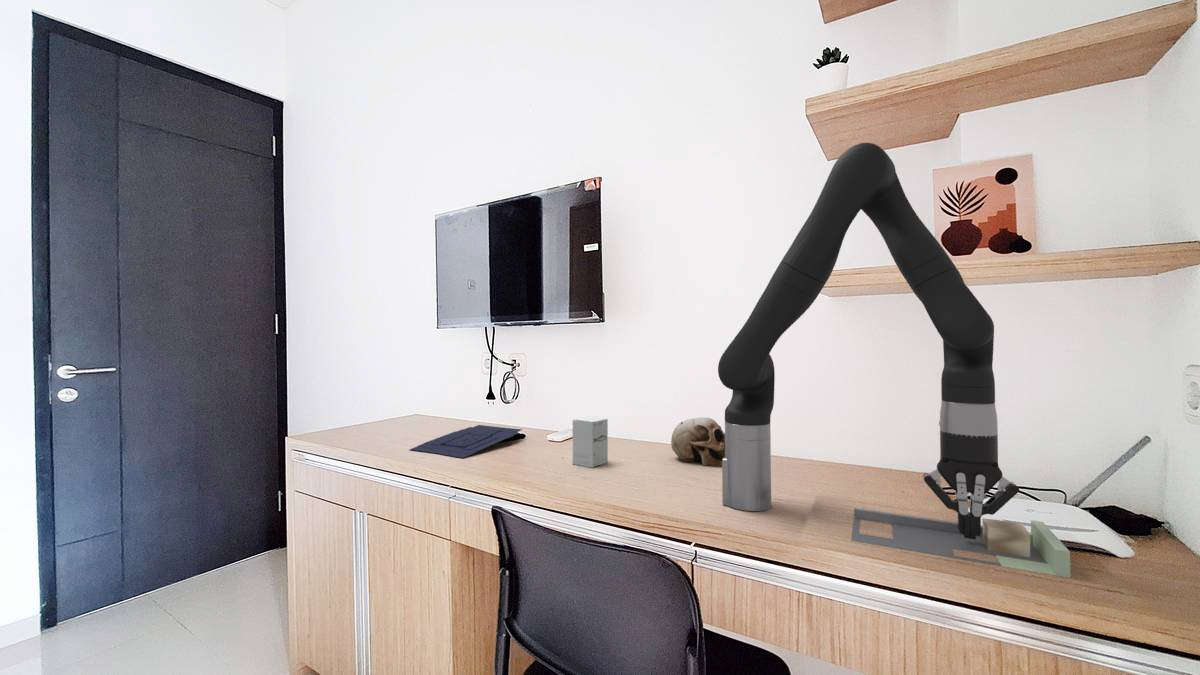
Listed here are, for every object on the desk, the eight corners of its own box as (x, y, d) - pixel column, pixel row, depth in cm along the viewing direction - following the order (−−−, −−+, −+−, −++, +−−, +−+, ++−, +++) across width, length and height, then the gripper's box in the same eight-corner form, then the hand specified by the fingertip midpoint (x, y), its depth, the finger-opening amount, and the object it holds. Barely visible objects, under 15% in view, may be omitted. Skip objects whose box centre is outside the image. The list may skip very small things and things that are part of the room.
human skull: (747, 464, 138) (741, 416, 138) (690, 475, 134) (683, 426, 134) (720, 454, 153) (715, 410, 153) (668, 464, 149) (662, 419, 149)
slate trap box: (851, 549, 82) (851, 519, 82) (854, 524, 93) (854, 497, 93) (1070, 588, 69) (1070, 551, 69) (1043, 553, 80) (1042, 521, 80)
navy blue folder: (527, 437, 173) (526, 427, 173) (464, 467, 148) (463, 455, 147) (475, 431, 186) (475, 422, 185) (409, 457, 160) (408, 446, 159)
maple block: (988, 550, 78) (988, 528, 78) (982, 539, 82) (982, 518, 82) (1030, 557, 75) (1029, 534, 75) (1021, 545, 80) (1021, 523, 80)
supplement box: (592, 468, 136) (592, 421, 136) (571, 464, 140) (571, 419, 140) (608, 462, 141) (608, 418, 142) (588, 459, 146) (587, 416, 146)
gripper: (921, 430, 81) (922, 537, 81) (1026, 437, 74) (1028, 554, 74) (918, 423, 87) (919, 522, 87) (1014, 429, 81) (1016, 536, 81)
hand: (969, 537), depth 81 cm, fingers closed
